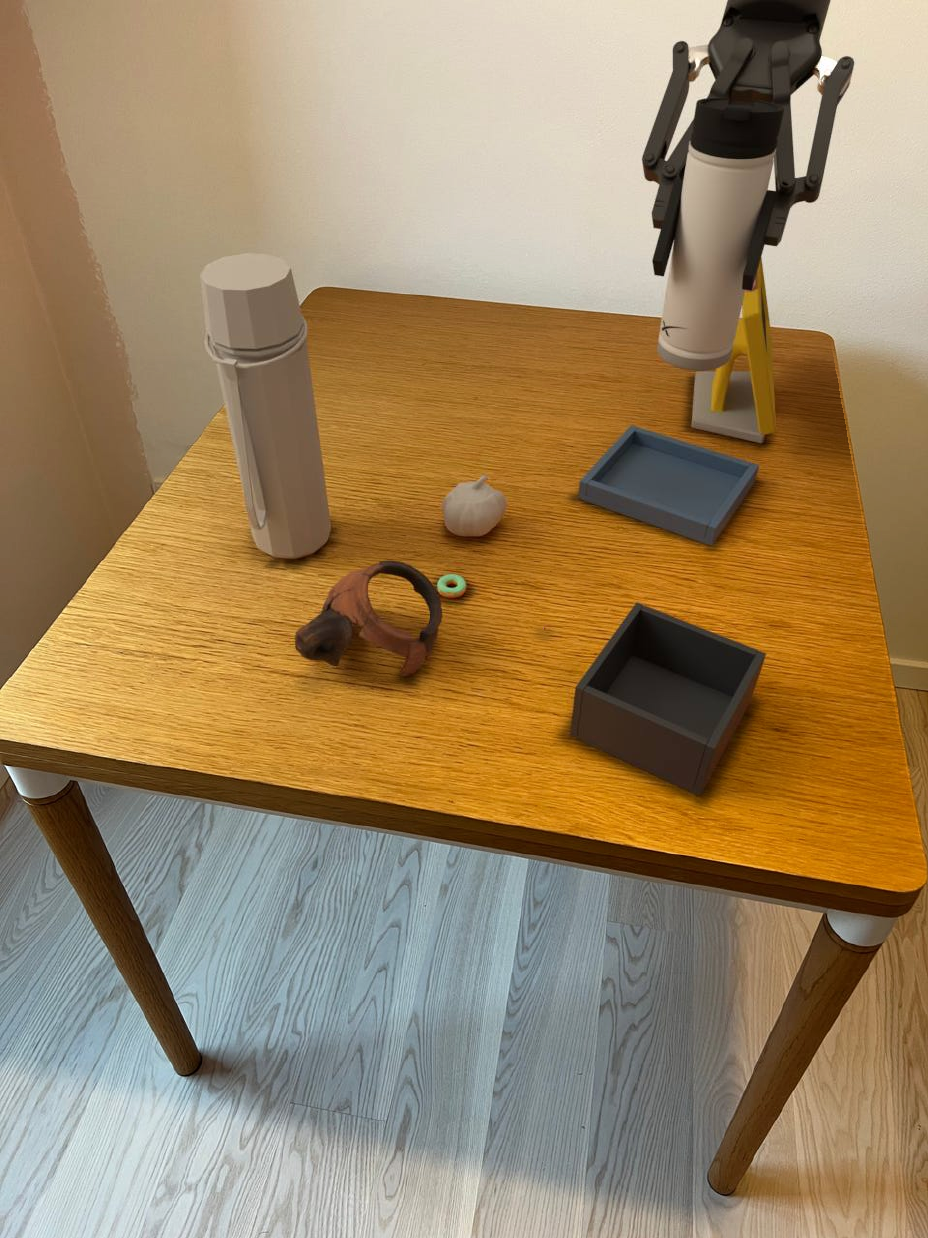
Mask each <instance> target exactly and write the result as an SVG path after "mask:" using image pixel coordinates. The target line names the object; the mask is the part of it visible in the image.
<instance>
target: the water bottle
mask: <svg viewBox="0 0 928 1238" xmlns="http://www.w3.org/2000/svg"><path fill="white" fill-rule="evenodd" d="M199 277H200V287H201V297H202V307H203V314H204V315H203V316H204V325H205V331H206V333H205V337H204V340H203V341H204V343H203V344H204V346H205V347H204V348H205V350H206V353H207V354H208V356H210V358H211V359H212V360H213V361H214V363H215V365H216V370H217V374H218V379H219V383H220V389H221V393H222V398H223V403H224V408H225V412H226V416H227V422H228V427H229V431H230V436H231V441H232V446H233V450H234V455H235V460H236V465H237V470H238V474H239V479H240V485H241V489H242V494H243V499H244V505H245V510H246V513H247V517H248V522H249V527H250V531H251V537H252V539H253V541H254V543H255V545H256V547H257V549H258V550H259V551H261V552H263V553H264V554H267V555H270V556H271V557H274V558H276V559H289V560H296V559H300V558H303V557H307V556H309V555H310V556H311V555H313V554H314V553H315V552H317V551H318V550H320V548H322V547H323V546H324V545H325V544H326V543H328V540H329V537H330V534H331V531H332V523H331V514H330V508H329V501H328V500H329V499H328V492H327V486H326V485H327V483H326V477H325V470H324V462H323V455H322V447H321V439H320V432H319V425H318V424H319V423H318V416H317V408H316V401H315V394H314V385H313V378H312V370H311V365H310V364H311V363H310V357H309V356H310V355H309V348H308V341H307V336H308V330H309V326H308V324H307V321H306V319H305V317H304V316H303V313H302V309H301V305H300V301H299V298H298V293H297V289H296V285H295V281H294V276H293V271H292V268H291V266H290V265H289V263H288V262H287V260H285V258H282V257H279V256H276V255H272V254H270V253H253V252H252V253H251V252H245V253H240V254H233V255H228V256H227V255H226V256H222V257H220V258H219V259H217V260H215V261H211V262H210V263H208V264H206V265H205V267H204V268H203V270H201V272H200V274H199ZM210 340H211V342H212V348H211V344H210Z"/></svg>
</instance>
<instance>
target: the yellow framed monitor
mask: <svg viewBox="0 0 928 1238" xmlns="http://www.w3.org/2000/svg"><path fill="white" fill-rule="evenodd" d="M763 265H764V264H763V257H762V256H761V259H760V263H759V267H758V270H757V274H756V277H755V281H754V284H753V288H752V291H750V290H745V294H744V299H743V303H742V308H741V317H739V322H738V326H737V331H736V335H735V339H734V344H733V349H732V353H731V357H730V360H729V361H728V362H727V363H726V364H725V365H723V366H721V367H719V368H716V369H715V371H713V370H707V371H695V376H694V385H693V397H692V414H691V423H690V424H691V428H692V429H695V430H700V431H704V432H709V433H713V434H717V435H721V436H725V437H731V438H735V439H740V440H744V441H749V442H753V443H757V444H763V443H764V441H765V437H766V435H770V434H775V433H776V432H777V418H776V397H775V377H774V359H773V358H774V357H773V355H774V354H773V338H772V330H771V329H772V328H771V322H770V313H769V305H768V298H767V297H768V296H767V291H766V290H767V289H766V282H765V281H766V280H765V274H764V267H763ZM742 356H745V357H746V356H747V360H748V367H749V370H748V371H747V370H742V371H741V370H740V371H739V370H738V371H737V370H736V371H734V370H733V367H734V361H735V360H736V359H737V358H738V357H742Z"/></svg>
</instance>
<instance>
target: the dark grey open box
mask: <svg viewBox="0 0 928 1238" xmlns="http://www.w3.org/2000/svg"><path fill="white" fill-rule="evenodd" d="M766 656H767V653H766V652H764V651H761V650H758V649H756V648H753V647H751V646H748V645H746V644H743V643H741V642H738V641H737V640H733V639H730V638H729V637H726V636H723V635H721V634H718V633H716V632H713V631H711V630H708V629H706V628H703V627H701V626H698V625H695V624H693V623H690V622H688V621H684V619H683V620H682V619H680V618H677V617H675V616H672V615H669V614H667V613H664V612H662V611H660V610H657V609H654V608H652V607H650V606H647V605H644V604H642V603H639V602H636V603H635V604H634V605H633V607H632V608H631V609H630V611H629V612H628V614H627V615H626V616H625V618H624V619H623V621H622V622H621V623H620V624H619V626H618V627H617V629H616V630H615V632H614V633H613V635H612V636H611V637H610V638H609V640H608V641H607V642H606V644H605V645H604V646H603V648H602V650H601V651H600V652H599V654H598V655H597V657H595V659H594V661H593V662H592V663H591V664H590V666H589V668H588V669H587V670H586V672H584V674H583V676H582V677H581V679H580V680H579V682H578V683H577V684H576V686H575V690H574V698H573V705H572V714H571V722H570V730H569V736H570V737H572V738H574V739H576V740H579V741H581V742H582V743H585V744H586V745H589V746H591V747H594V748H595V749H597V750H599V751H602V752H604V753H606V754H607V755H611V756H612V757H614V758H617V759H619V760H621V761H623V762H625V763H626V764H630V765H632V766H634V767H636V768H638V769H641V770H642V771H643V772H647V773H649V774H651V775H653V776H655V777H658V778H660V779H662V780H664V781H666V782H668V783H670V784H672V785H674V786H677V787H679V788H681V789H683V790H684V791H687V792H689V793H691V794H693V795H696V796H698V797H701V796H702V795H703V793H704V791H705V789H706V787H707V785H708V783H709V782H710V779H711V778H712V776H713V774H714V772H715V770H716V768H717V766H718V764H719V763H720V761H721V758H722V757H723V755H724V753H725V751H726V749H727V747H728V745H729V744H730V742H731V740H732V738H733V736H734V734H735V732H736V730H737V729H738V727H739V725H740V723H741V721H742V720H743V717H744V715H745V713H746V712H747V709H748V708H749V706H750V704H751V702H752V699H753V696H754V692H755V689H756V686H757V684H758V680H759V677H760V675H761V671H762V668H763V666H764V663H765V660H766Z"/></svg>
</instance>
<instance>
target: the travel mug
mask: <svg viewBox="0 0 928 1238" xmlns="http://www.w3.org/2000/svg"><path fill="white" fill-rule="evenodd" d="M729 100H730V98H707V97H706V98H701V99H698V100H697V101H696V103H695V109H694V116H693V119H694V121H693V120H692V121H693V132H692V134H691V140H690V142H689V152H688V155H687V161H686V167H685V174H684V180H683V187H682V193H681V200H680V206H679V213H678V219H677V225H676V232H675V238H674V242H673V245H672V249H671V255H670V264H669V270H668V276H667V283H666V289H665V295H664V301H663V308H662V314H661V321H660V328H659V333H658V340H657V346H656V351H657V354H658V355H659V357H660V359H662V360H663V361H664V362H665V363H667V364H668V365H670V366H673V367H675V368H677V369H680V370H686V371H691V372H692V371H693V372H702V371H713V370H716V368H719V367H721V366H723V365H725V364H726V363H727V362H728V361H729V360H730V357H731V353H732V349H733V344H734V339H735V335H736V331H737V326H738V322H739V318H741V317H740V316H741V313H742V303H743V299H744V294H745V290H744V289H742V281H743V273H744V269H745V265H746V262H747V258H748V255H749V251H750V248H751V244H752V240H753V237H754V233H755V230H756V226H757V222H758V219H759V215H760V212H761V208H762V204H763V201H764V197H765V195H766V191H767V190H769V184H770V180H771V175H772V171H773V168H774V156H775V153H776V145H777V136H778V134H779V131H780V127H781V122H782V118H783V113H784V107H783V106H781V105H778V104H775V103H771V102H766V101H759V100H755V103H748V102H736V101H730V102H729Z"/></svg>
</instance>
